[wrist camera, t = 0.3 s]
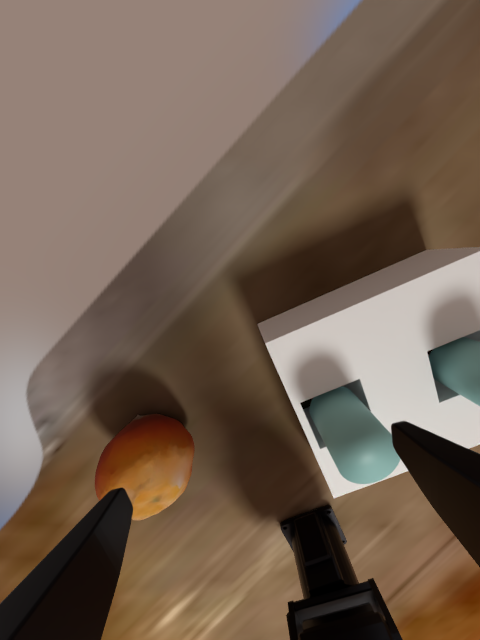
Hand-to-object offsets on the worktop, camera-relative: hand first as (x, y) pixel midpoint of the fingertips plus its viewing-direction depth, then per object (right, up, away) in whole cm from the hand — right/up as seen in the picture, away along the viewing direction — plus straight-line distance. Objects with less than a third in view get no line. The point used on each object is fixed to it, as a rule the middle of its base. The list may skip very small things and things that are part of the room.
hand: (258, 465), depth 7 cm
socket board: (+12, +1, +15) cm, 19 cm away
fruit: (-9, -7, +16) cm, 20 cm away
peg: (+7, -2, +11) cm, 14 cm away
